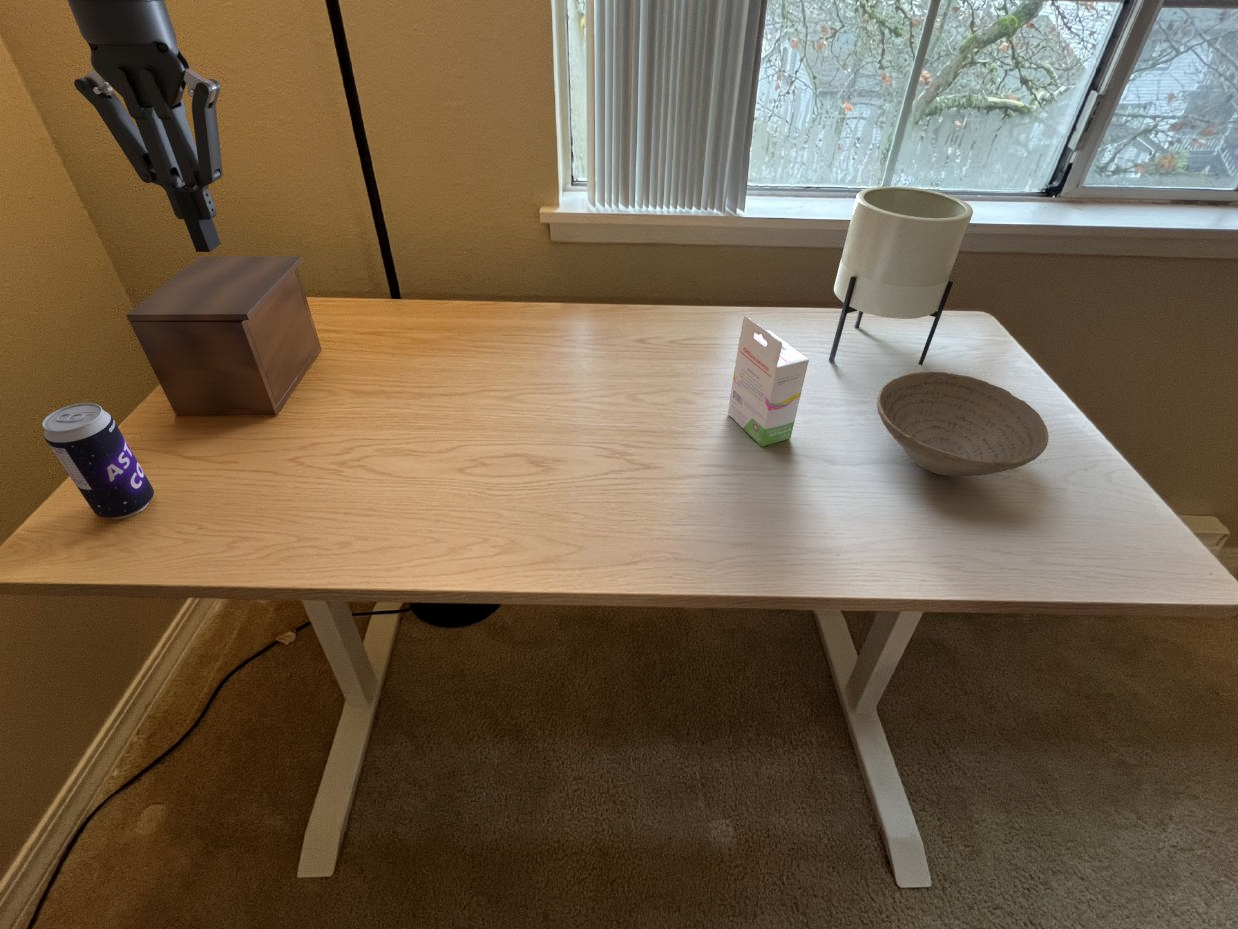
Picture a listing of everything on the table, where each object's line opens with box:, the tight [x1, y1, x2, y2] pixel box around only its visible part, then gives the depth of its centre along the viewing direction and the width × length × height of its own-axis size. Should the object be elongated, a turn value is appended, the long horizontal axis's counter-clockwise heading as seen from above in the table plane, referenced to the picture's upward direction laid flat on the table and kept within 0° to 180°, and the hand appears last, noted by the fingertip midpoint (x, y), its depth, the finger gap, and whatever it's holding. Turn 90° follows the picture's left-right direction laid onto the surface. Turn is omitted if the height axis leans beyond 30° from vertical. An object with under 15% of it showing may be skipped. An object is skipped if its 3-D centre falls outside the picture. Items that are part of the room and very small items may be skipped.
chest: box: [128, 267, 323, 417], centre depth 87 cm, size 13×18×14 cm
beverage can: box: [41, 402, 155, 520], centre depth 67 cm, size 6×6×12 cm
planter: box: [828, 185, 974, 366], centre depth 96 cm, size 15×16×23 cm
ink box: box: [727, 315, 810, 447], centre depth 81 cm, size 9×5×15 cm, turn 24°
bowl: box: [876, 371, 1049, 478], centre depth 78 cm, size 18×18×8 cm
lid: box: [125, 255, 304, 322], centre depth 83 cm, size 14×18×1 cm
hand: (208, 247), depth 73 cm, fingers closed
